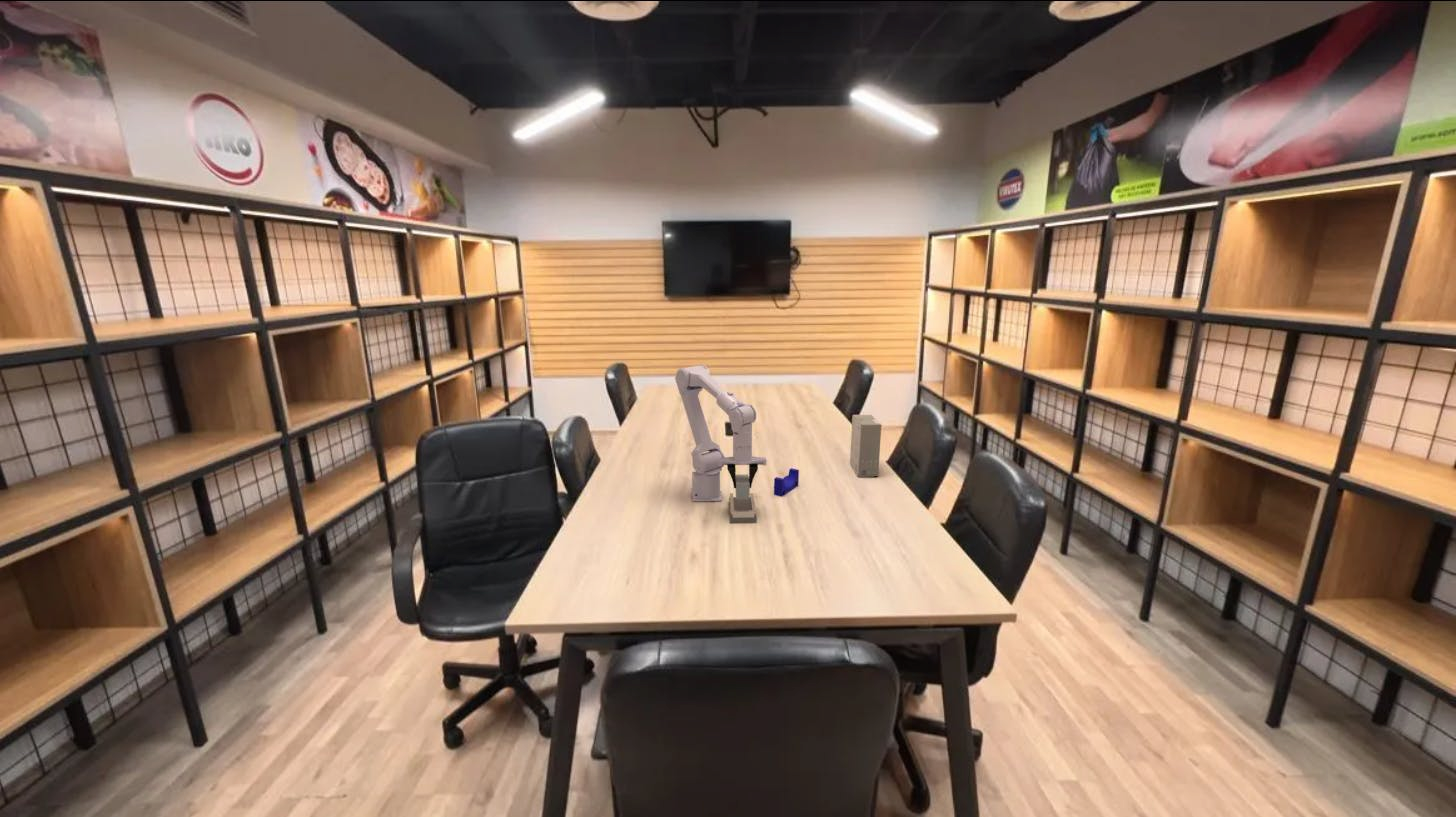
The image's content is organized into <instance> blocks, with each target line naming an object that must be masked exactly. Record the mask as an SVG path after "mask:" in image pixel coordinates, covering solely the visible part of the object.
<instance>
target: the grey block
mask: <svg viewBox="0 0 1456 817" xmlns="http://www.w3.org/2000/svg"><path fill="white" fill-rule="evenodd" d="M750 489H751V488H750V483H749V474H736V488H735V497H736V500H738V499H750Z"/></svg>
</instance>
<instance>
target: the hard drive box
mask: <svg viewBox="0 0 1456 817" xmlns="http://www.w3.org/2000/svg"><path fill="white" fill-rule="evenodd" d="M882 426H883V425H882V424H881V423H880V422H879V421H878V419H877V418H875V417H874V415H872V414H852V417H851V435H850V436H851V437H850V455H849V456H850V457H849V464H850V466H851V468H852V467H853V468H852V469H854V470H853V471H854V473H855V475H856V474H857V475H856V477H857V478H860V477H861V478H862V477H863V478H875V477H874V476H878V477H879V469H880V468H879V466H880V452H881V439H882V438H881V437H882Z"/></svg>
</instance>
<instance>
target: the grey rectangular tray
mask: <svg viewBox="0 0 1456 817" xmlns="http://www.w3.org/2000/svg"><path fill="white" fill-rule="evenodd" d="M755 502H756V501H755V496H754V493H753V492H751V493H750V499H738V500H736V496H734V493H733V492H732V493H731V492H730V493H729V497H728V507H729V508H728V509H729V523H730V524H757V523H758V517H757V511H756V510H757V509H756V503H755Z"/></svg>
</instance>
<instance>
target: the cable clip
mask: <svg viewBox="0 0 1456 817" xmlns="http://www.w3.org/2000/svg"><path fill="white" fill-rule="evenodd" d="M799 477H800V469H797V468H793V467H790V468H789V470H788V475H786V476H784V477H783V478H782V477H777V476H776V477H774V479H773V480H774V481H773V495H774V496H778V497H784V496H785V495H787V494H789V493H790V492H791V491H793V490H794V489H795V488H797V487H798V486H799V482H800V481H799Z"/></svg>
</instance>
